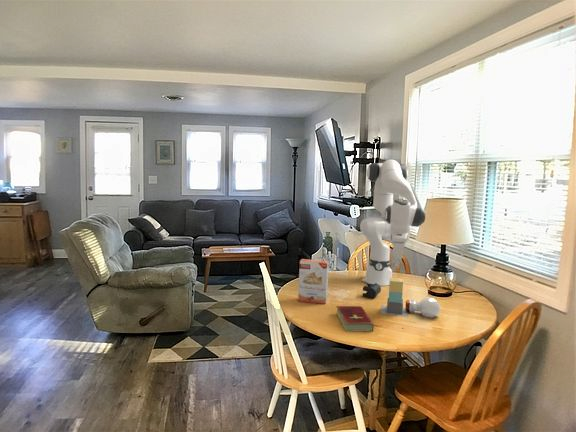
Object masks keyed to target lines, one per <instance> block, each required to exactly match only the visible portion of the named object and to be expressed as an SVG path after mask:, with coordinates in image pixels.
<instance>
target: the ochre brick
mask: <svg viewBox="0 0 576 432" xmlns="http://www.w3.org/2000/svg"><path fill="white" fill-rule="evenodd" d="M403 287H404V279H403V278H399V277H392V278H390V282H389V285H388V292H389V291H391V292H400V293H402V294H403Z"/></svg>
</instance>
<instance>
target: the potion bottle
mask: <svg viewBox="0 0 576 432" xmlns="http://www.w3.org/2000/svg"><path fill="white" fill-rule="evenodd" d="M404 308H405V310H406V311H408V312H410V313H417V312H419V313H420V314H421V315H422V317H425V318H430V319H434V318H437V316H438V315H439V314H440V312H441V306H440V303H439V302H438V301H437V299H435V298H433V297H431V296H427V297H424V298H422V299H421V300H420V301H415V300H414V299H413V298H412V299H411V300H409V299H407V300H406V301H405V307H404Z"/></svg>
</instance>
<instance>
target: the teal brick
mask: <svg viewBox="0 0 576 432" xmlns="http://www.w3.org/2000/svg"><path fill="white" fill-rule="evenodd" d="M388 298H389V300H388V299H387V300H388V302H395V303H402V299H403V292H402V293H400V292H391V291H389V290H388Z"/></svg>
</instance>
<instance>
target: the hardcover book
mask: <svg viewBox="0 0 576 432" xmlns="http://www.w3.org/2000/svg"><path fill="white" fill-rule="evenodd" d="M336 308H337V309H336V310H337V313H336V314H337V316H338V318H339V320H340V322H341V324H342V326H343V328H344V330H345V332H374V329H375V325H374V323H373V321H372V320H371V318H370V317H369V316H368V314H367V313H366V311H365V310H364V308H363V307H362V305H336Z"/></svg>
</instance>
